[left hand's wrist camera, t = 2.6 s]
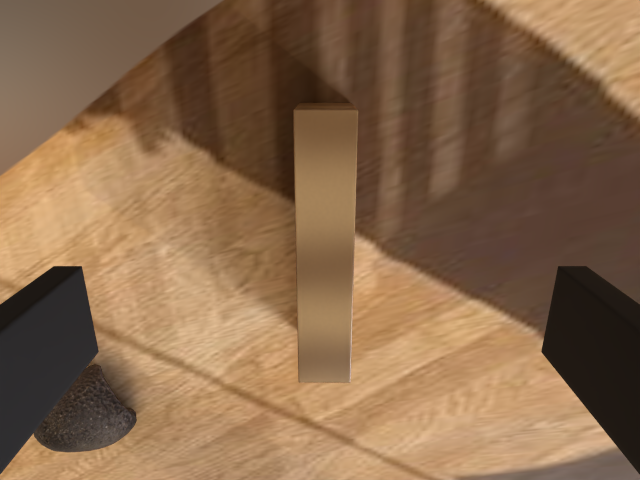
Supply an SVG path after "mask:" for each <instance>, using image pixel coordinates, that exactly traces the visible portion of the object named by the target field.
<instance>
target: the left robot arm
mask: <svg viewBox="0 0 640 480" xmlns="http://www.w3.org/2000/svg"><path fill="white" fill-rule="evenodd" d="M98 352H99V351H98V346H97V341H96V336H95V331H94V326H93V321H92V316H91V311H90V306H89V301H88V296H87V291H86V286H85V281H84V275H83V270H82V266H54V267H52V268H51V269H49V270H48V271H47V272H45V273H44V274H42V275H41V276H40V277H38V278H37V279H35V280H34V281H33V282H31V283H30V284H28V285H27V286H26V287H24V288H23V289H21V290H20V291H19V292H17V293H16V294H14V295H13V296H12V297H10V298H9V299H7V300H6V301H5V302H3V303H2V304H0V474H1V473H2V472H3V470H4V469H5V468H6V467H7V465H8V464H9V463H10V462H11V460H12V459H13V458H14V457H15V455H16V454H17V453H18V452H19V450H20V449H21V448H22V447H23V445H24V444H25V443H26V442H27V440H28V439H29V438H30V437H31V435H32V434H33V433H34V432H35V430H36V429H37V428H38V427H39V425H40V424H41V423H42V422H43V420H44V419H45V418H46V417H47V415H48V414H49V413H50V412H51V410H52V409H53V408H54V407H55V406H56V404H57V403H58V402H59V401H60V399H61V398H62V397H63V396H64V394H65V393H66V392H67V391H68V389H69V388H70V387H71V386H72V384H73V383H74V382H75V381H76V379H77V378H78V377H79V376H80V374H81V373H82V372H83V371H84V369H85V368H86V367H87V366H88V364H89V363H90V362H91V361H92V359H93V358H94V357H95V356H96V354H97V353H98ZM541 352H542V353H543V354H544V356H545V357H546V358H547V359H548V361H549V362H550V363H551V364H552V366H553V367H554V368H555V369H556V371H557V372H558V373H559V374H560V376H561V377H562V378H563V379H564V381H565V382H566V383H567V384H568V386H569V387H570V388H571V389H572V391H573V392H574V393H575V394H576V396H577V397H578V398H579V399H580V401H581V402H582V403H583V404H584V406H585V407H586V408H587V409H588V410H589V412H590V413H591V414H592V415H593V417H594V418H595V419H596V420H597V422H598V423H599V424H600V425H601V427H602V428H603V429H604V430H605V432H606V433H607V434H608V435H609V437H610V438H611V439H612V440H613V442H614V443H615V444H616V445H617V447H618V448H619V449H620V450H621V452H622V453H623V454H624V455H625V457H626V458H627V459H628V460H629V462H630V463H631V464H632V465H633V467H634V468H635V469H636V470H637V472H638V473H639V474H640V304H638V303H637V302H635V301H634V300H633V299H631V298H630V297H628V296H627V295H626V294H624V293H623V292H621V291H620V290H619V289H617V288H616V287H614V286H613V285H612V284H610V283H609V282H607V281H606V280H605V279H603V278H602V277H600V276H599V275H598V274H596V273H595V272H593V271H592V270H591V269H589V268H588V267H586V266H558V270H557V275H556V281H555V286H554V291H553V296H552V301H551V306H550V311H549V316H548V321H547V326H546V331H545V336H544V341H543V346H542V351H541Z"/></svg>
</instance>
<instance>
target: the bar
mask: <svg viewBox="0 0 640 480" xmlns="http://www.w3.org/2000/svg"><path fill="white" fill-rule="evenodd" d="M293 123H294V173H295V224H296V275H297V325H298V376H299V383H350V382H351V347H352V311H353V276H354V240H355V205H356V169H357V134H358V109H357V108H356V107H355V106H354V105H353V104H352V103H299V104H298V105H297V106H296V108H295V109H294V110H293Z"/></svg>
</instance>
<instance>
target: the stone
mask: <svg viewBox="0 0 640 480" xmlns="http://www.w3.org/2000/svg"><path fill="white" fill-rule="evenodd" d="M135 423H136V412H135V411H134V410H132V409H128V408H125V407H124V406H123V405H122V404H121V403H120V402H119V400H118V399H117V398H116V396H115V394H114V393H113V392H112V390H111V389H110V387H109V385H108V384H107V382H106V381H105V379H104V377H103V374H102V370H101V366H99V365H95V364H94V365H92V366H90V367H88V368H86V369H85V370H84V371H83V372H82V373H81V374H80V376H79V377H78V378H77V379H76V381H75V382H74V383H73V384H72V386H71V387H70V388H69V389H68V391H67V392H66V393H65V394H64V396H63V397H62V398H61V399H60V401H59V402H58V403H57V404H56V406H55V407H54V408H53V409H52V410H51V412H50V413H49V414H48V415H47V417H46V418H45V419H44V420H43V422H42V423H41V424H40V425H39V427H38V428H37V429H36V430H35V432H34V437H35V438H36V439H37V440H38V442H40V443H41V444H42V445H43V446H45V447H46V448H49V449H51V450H53V451H59V452H81V451H91V450H96V449H100V448H104V447H106V446H109V445H111V444H114V443H115V442H117V441H118V440H120V439H121V438H123V437H124V436H125V435H126V434H128V433H129V431H130V430H131V429H132V428H133V427H134V425H135Z"/></svg>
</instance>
